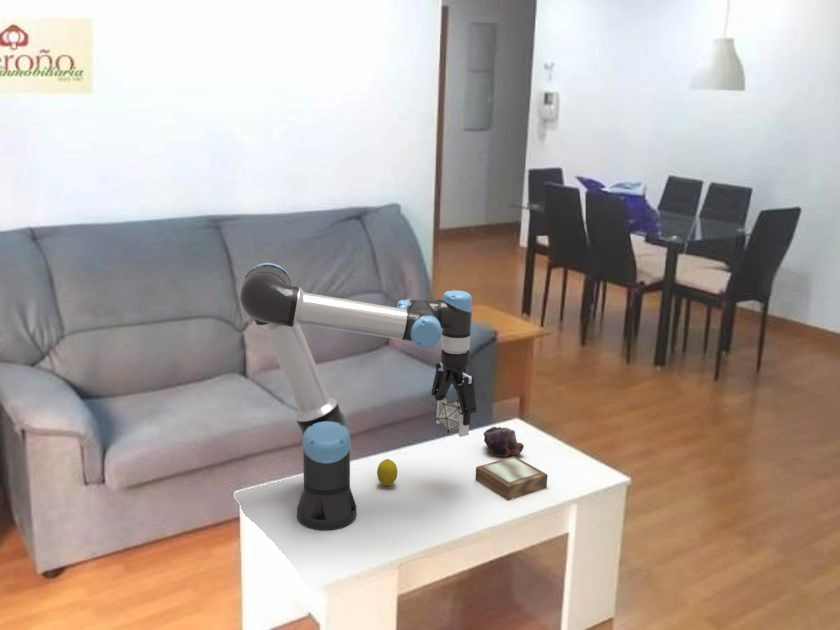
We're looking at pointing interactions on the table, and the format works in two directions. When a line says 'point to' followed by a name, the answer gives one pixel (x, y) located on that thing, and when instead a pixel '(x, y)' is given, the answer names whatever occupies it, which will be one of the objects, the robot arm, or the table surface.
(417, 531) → the table surface
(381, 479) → the lemon
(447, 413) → the game die
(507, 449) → the rock
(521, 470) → the framed mirror
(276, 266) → the robot arm
